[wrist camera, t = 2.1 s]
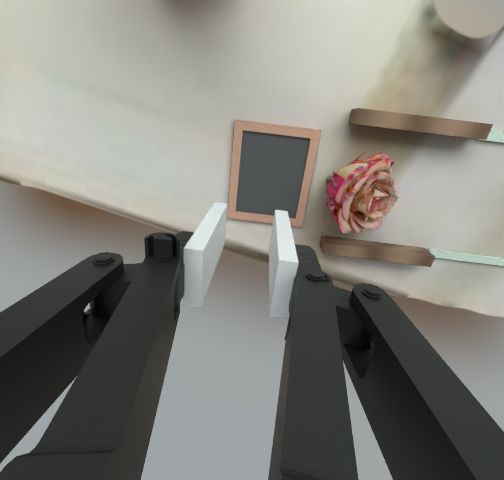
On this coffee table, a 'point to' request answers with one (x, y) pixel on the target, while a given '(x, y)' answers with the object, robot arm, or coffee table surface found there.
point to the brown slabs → (406, 124)
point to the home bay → (472, 257)
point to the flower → (361, 193)
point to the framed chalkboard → (271, 171)
